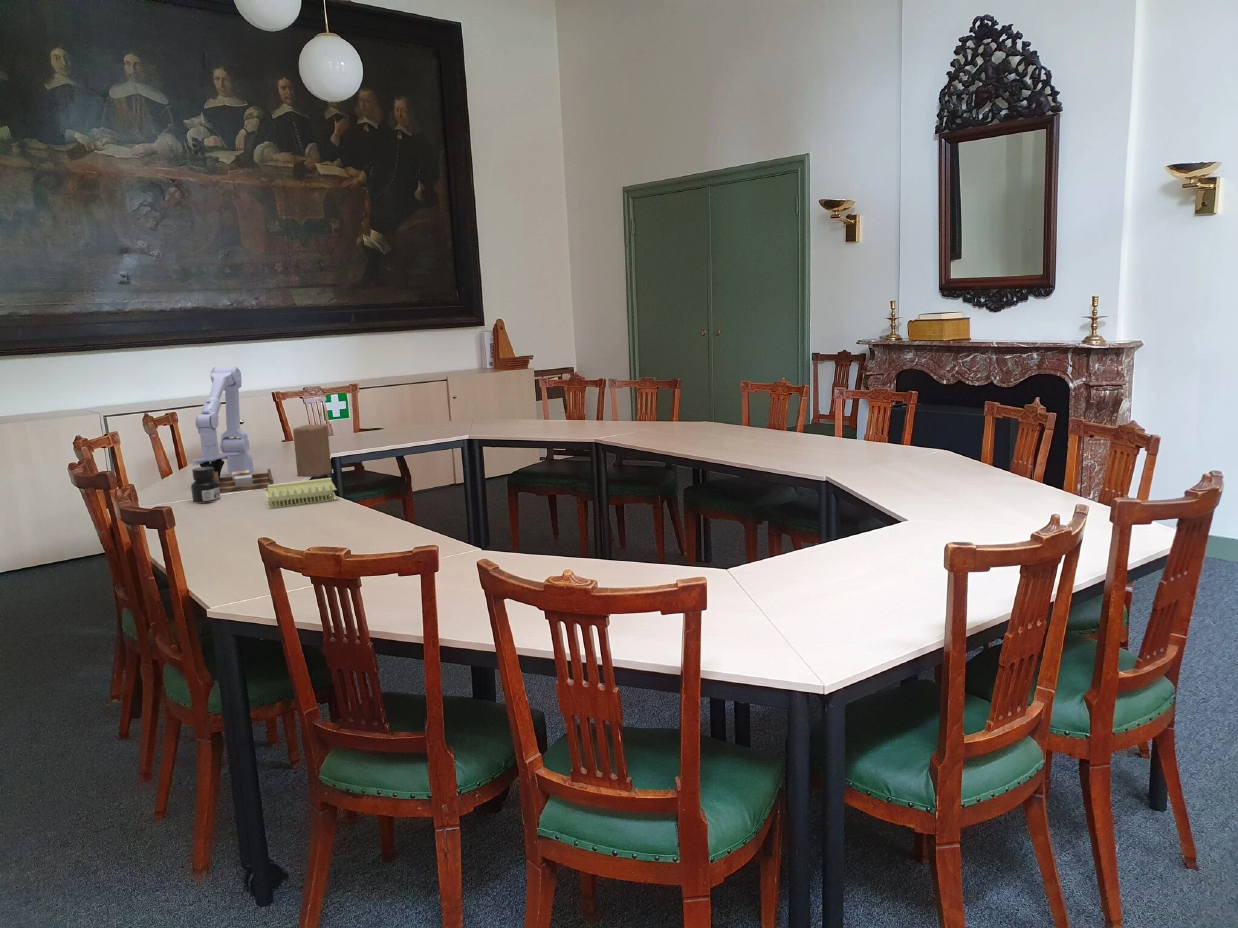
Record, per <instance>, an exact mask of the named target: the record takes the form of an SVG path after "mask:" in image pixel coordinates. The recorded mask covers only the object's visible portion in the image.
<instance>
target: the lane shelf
mask: <svg viewBox="0 0 1238 928" xmlns="http://www.w3.org/2000/svg"><path fill="white" fill-rule="evenodd" d="M250 475H252V482H253V485H247V486H238V487H235V481H233V478H232V476H223V477H222V476H220V480H219V491H220V494H226V493H236V492H244V491H245V492H247V491H253V490H255V491H256V490H265V489H267V488H268V486H267V485H272V484H274V480H273V475H272V471H271V468H267V472H263V473H262V472H261V473H252V474H250Z"/></svg>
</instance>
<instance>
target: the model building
mask: <svg viewBox="0 0 1238 928" xmlns="http://www.w3.org/2000/svg"><path fill="white" fill-rule="evenodd" d="M267 486H268V488H265V489H264V492H265V495H266V497H267V499H268V500H266V501H265V504H266V503H268V504H266V507H267V506H269V507H267V509H272V508H273V509H274V508H282V507H291V506H292V507H293V506H298V505H299V506H301V505H306V504H305V503H308V504H315V503H316V504H317V503H322V502H330V501H329V500H332V499H334V497H336V493H335V492H334V491H337V490H338V489H337V488H336V486H335V484H334V482H333V481H332V477H326V478H325V477H324V478H317V479H309V480H300V481H298V480H297V481H290V482H282V483H273V484H272V485H267ZM330 495H331V496H330ZM332 501H333V500H332Z"/></svg>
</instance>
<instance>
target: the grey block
mask: <svg viewBox="0 0 1238 928" xmlns="http://www.w3.org/2000/svg"><path fill="white" fill-rule="evenodd" d="M234 478H235V487H238V486H247V485H253V482H252V475H244V476H235V477H234Z"/></svg>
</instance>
